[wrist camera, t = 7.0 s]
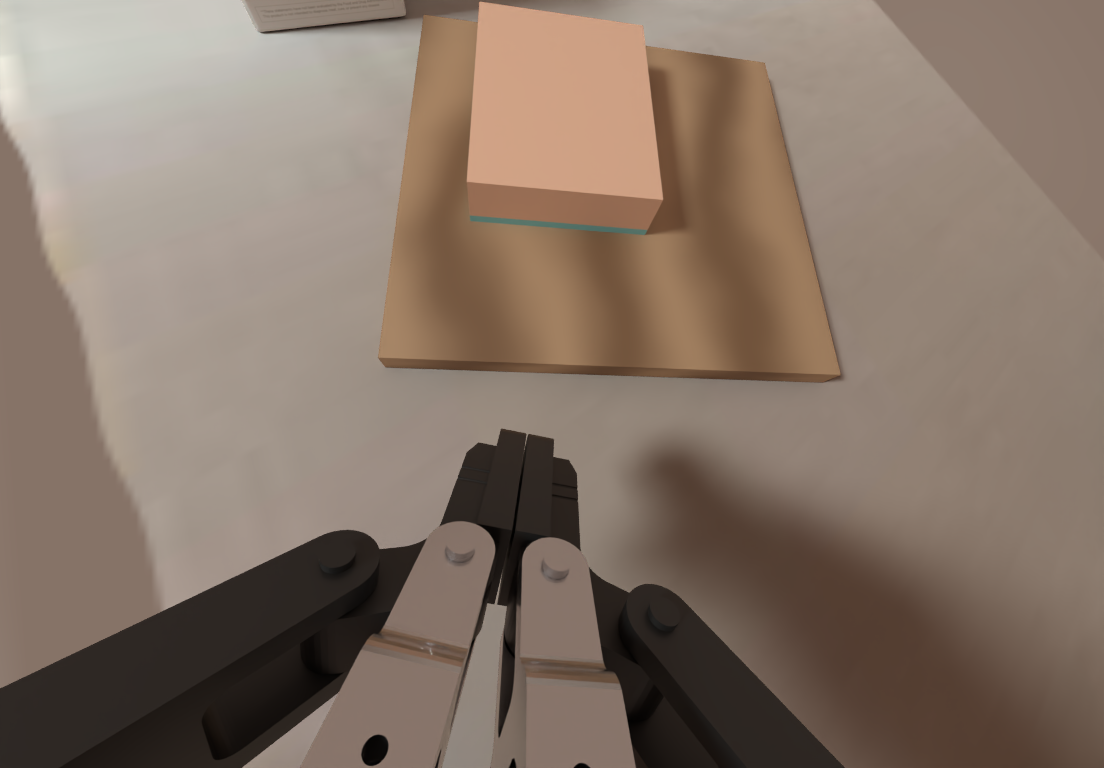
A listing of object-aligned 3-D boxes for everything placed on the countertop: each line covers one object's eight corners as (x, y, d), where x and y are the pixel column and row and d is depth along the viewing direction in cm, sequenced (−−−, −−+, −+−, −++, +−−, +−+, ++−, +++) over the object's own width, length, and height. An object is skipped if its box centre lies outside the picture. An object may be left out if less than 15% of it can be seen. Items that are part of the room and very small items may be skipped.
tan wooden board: (753, 80, 28) (764, 62, 27) (822, 382, 21) (840, 374, 20) (426, 37, 25) (423, 14, 24) (385, 367, 18) (377, 357, 17)
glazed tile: (644, 234, 21) (629, 72, 25) (663, 199, 19) (642, 25, 23) (470, 221, 20) (481, 52, 24) (466, 181, 18) (479, 1, 21)
